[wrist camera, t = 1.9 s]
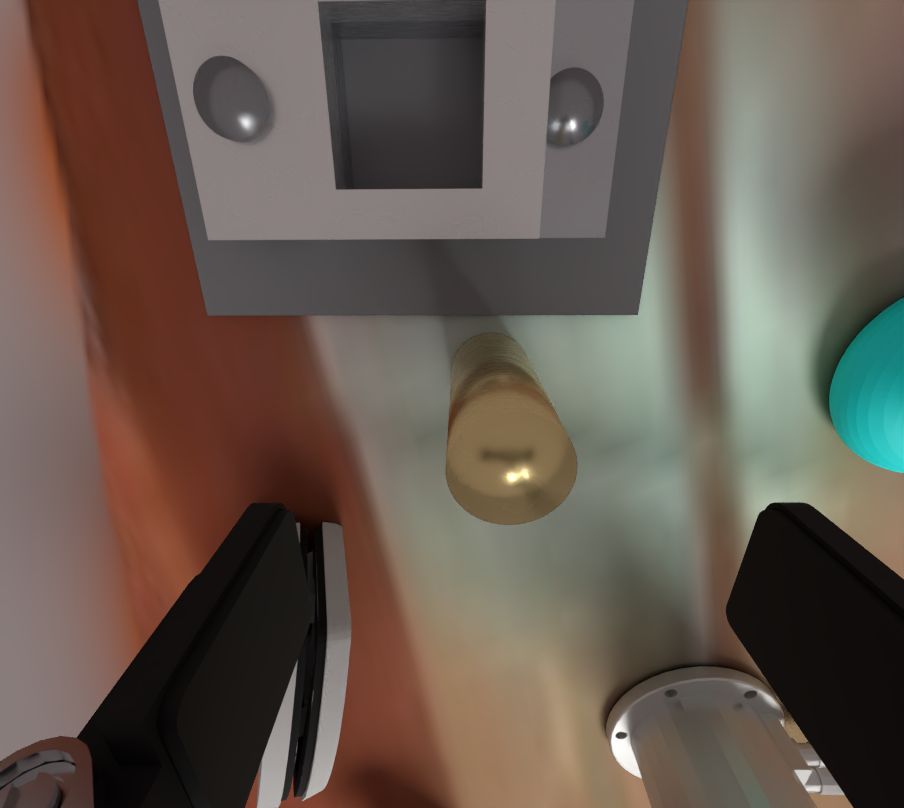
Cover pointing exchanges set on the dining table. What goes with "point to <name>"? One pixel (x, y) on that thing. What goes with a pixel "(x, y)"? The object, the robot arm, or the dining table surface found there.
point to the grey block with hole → (327, 130)
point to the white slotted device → (312, 681)
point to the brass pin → (504, 436)
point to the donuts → (873, 391)
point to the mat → (441, 167)
